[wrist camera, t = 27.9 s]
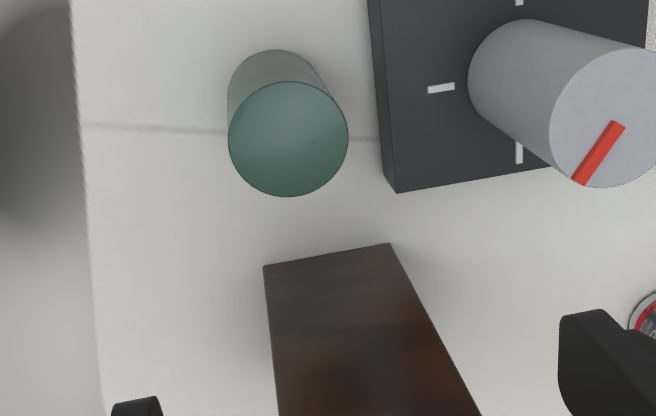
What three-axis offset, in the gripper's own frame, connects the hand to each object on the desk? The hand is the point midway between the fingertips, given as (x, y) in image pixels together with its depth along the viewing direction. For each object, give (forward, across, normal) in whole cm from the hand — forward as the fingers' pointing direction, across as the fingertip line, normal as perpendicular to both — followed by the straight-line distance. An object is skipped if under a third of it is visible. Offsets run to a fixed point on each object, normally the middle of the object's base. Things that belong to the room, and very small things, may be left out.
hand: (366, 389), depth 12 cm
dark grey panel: (+24, -12, 0) cm, 27 cm away
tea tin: (+24, 0, 0) cm, 24 cm away
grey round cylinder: (+21, -13, 0) cm, 24 cm away
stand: (+24, -2, +14) cm, 28 cm away
